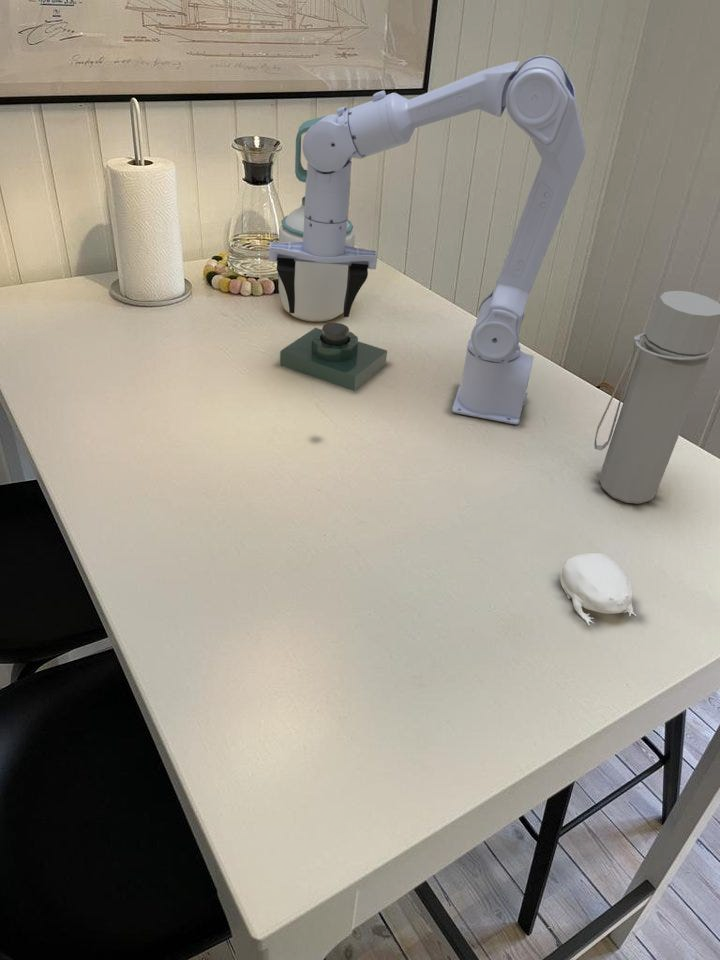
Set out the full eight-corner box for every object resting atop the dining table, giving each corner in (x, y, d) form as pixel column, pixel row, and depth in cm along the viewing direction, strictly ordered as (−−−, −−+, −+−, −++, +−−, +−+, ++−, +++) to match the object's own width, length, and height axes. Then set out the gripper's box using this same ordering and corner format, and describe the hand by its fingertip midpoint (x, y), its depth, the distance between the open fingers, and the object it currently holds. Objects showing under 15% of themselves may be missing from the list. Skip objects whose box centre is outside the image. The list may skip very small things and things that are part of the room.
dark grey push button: (352, 339, 114) (353, 327, 113) (339, 349, 111) (340, 337, 110) (330, 332, 115) (331, 320, 114) (316, 342, 112) (317, 329, 111)
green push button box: (385, 364, 117) (388, 338, 114) (354, 391, 110) (356, 363, 107) (314, 341, 121) (315, 315, 119) (279, 365, 114) (280, 338, 112)
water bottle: (656, 479, 97) (726, 296, 82) (655, 514, 91) (730, 324, 76) (584, 462, 99) (640, 280, 84) (578, 495, 93) (637, 306, 78)
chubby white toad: (643, 618, 77) (654, 592, 75) (585, 629, 75) (595, 603, 73) (602, 565, 83) (611, 540, 81) (547, 574, 81) (555, 549, 79)
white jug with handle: (348, 329, 126) (362, 128, 107) (274, 324, 125) (275, 121, 107) (350, 299, 136) (363, 110, 117) (281, 294, 135) (283, 104, 117)
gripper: (378, 211, 103) (368, 304, 111) (271, 201, 101) (269, 296, 109) (382, 228, 97) (370, 325, 105) (269, 219, 96) (266, 317, 104)
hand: (319, 312), depth 107 cm, fingers open, 7 cm apart
